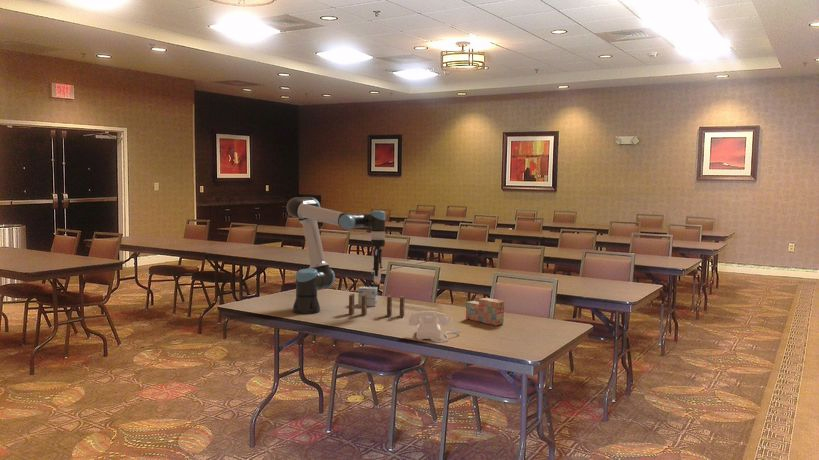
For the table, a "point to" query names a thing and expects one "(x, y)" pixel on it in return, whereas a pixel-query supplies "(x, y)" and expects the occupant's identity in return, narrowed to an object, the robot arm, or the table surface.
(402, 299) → the walnut domino
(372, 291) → the light bulb box
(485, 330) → the table surface
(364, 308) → the walnut domino
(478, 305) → the stack of blocks
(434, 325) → the telephone
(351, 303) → the walnut domino
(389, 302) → the walnut domino
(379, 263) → the terracotta domino
